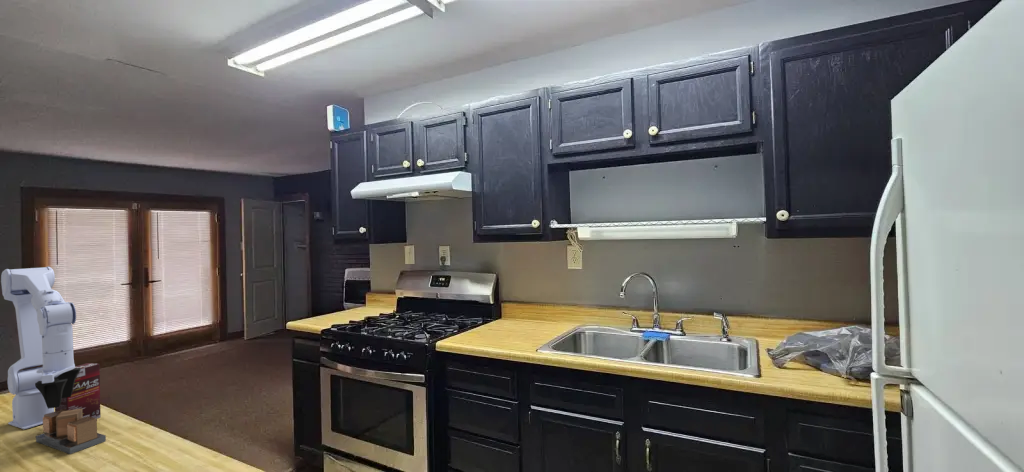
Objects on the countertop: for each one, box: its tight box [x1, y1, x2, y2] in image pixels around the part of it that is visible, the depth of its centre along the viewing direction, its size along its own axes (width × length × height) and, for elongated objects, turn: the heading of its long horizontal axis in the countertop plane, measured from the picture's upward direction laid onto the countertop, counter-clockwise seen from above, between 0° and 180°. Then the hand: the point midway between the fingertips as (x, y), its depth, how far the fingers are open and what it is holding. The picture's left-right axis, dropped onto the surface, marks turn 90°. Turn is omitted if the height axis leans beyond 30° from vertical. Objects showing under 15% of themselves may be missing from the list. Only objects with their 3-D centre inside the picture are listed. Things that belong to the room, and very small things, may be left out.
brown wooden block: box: [56, 409, 83, 439], centre depth 118 cm, size 4×4×6 cm
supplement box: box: [54, 362, 102, 419], centre depth 129 cm, size 9×5×16 cm, turn 168°
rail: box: [35, 409, 107, 455], centre depth 118 cm, size 17×7×6 cm, turn 67°
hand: (59, 402), depth 119 cm, fingers open, 7 cm apart
